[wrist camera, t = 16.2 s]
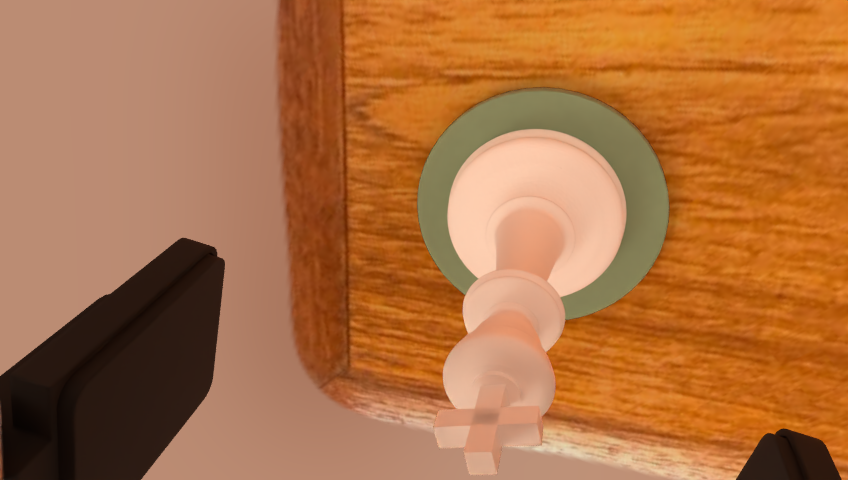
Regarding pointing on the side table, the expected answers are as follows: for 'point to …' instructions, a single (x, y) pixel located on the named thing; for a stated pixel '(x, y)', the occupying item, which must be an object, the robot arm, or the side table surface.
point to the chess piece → (521, 280)
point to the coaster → (575, 119)
